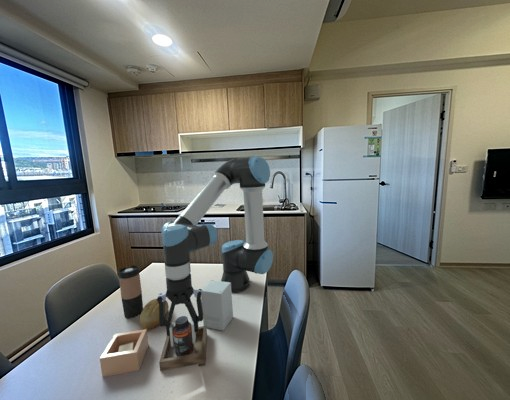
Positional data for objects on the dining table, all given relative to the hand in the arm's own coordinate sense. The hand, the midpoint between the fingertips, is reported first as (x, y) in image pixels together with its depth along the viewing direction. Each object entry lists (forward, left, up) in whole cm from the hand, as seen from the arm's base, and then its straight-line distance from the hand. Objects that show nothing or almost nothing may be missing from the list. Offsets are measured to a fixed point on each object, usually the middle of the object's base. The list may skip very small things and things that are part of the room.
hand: (183, 341), depth 74 cm
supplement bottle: (0, 0, -4) cm, 4 cm away
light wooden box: (+18, 0, -4) cm, 18 cm away
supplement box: (-11, -13, -4) cm, 18 cm away
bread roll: (+14, -20, -4) cm, 25 cm away
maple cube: (+18, 0, -3) cm, 18 cm away
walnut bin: (0, 0, -4) cm, 4 cm away
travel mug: (+25, -27, -4) cm, 37 cm away
